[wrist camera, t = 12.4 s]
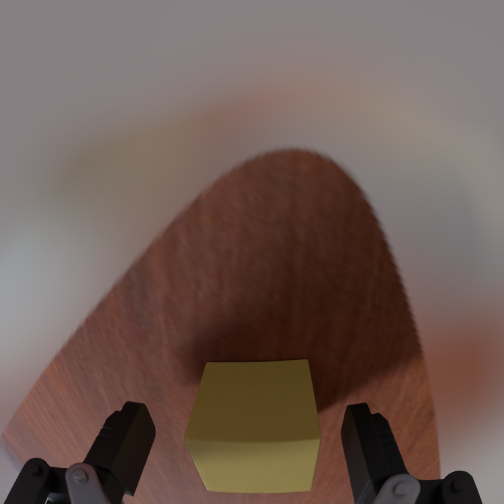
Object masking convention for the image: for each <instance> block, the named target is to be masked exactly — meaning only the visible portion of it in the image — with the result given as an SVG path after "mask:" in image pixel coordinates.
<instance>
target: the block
mask: <svg viewBox="0 0 504 504" xmlns="http://www.w3.org/2000/svg"><path fill="white" fill-rule="evenodd" d="M184 440H185V443H186V445H187V447H188V450H189V452H190V454H191V456H192V459H193V461H194V463H195V465H196V467H197V469H198V471H199V474H200V476H201V478H202V480H203V482H204V484H205V486H206V488H207V490H208V491H218V492H235V493H283V492H299V491H310V490H311V489H312V484H313V479H314V475H315V470H316V465H317V460H318V454H319V449H320V443H321V433H320V427H319V420H318V414H317V408H316V402H315V397H314V391H313V385H312V379H311V374H310V368H309V363H308V360H307V359H302V360H287V361H267V362H207V363H206V365H205V369H204V372H203V375H202V379H201V382H200V385H199V389H198V392H197V396H196V399H195V402H194V406H193V409H192V413H191V416H190V419H189V423H188V426H187V430H186V433H185V437H184Z"/></svg>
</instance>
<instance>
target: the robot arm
mask: <svg viewBox="0 0 504 504" xmlns="http://www.w3.org/2000/svg"><path fill="white" fill-rule="evenodd" d="M155 434H156V430H155V425H154V423H153V421H152V418H151V416H150V414H149V411H148V409H147V407H146V405H145V404H143V403H137V402H131V401H127V402H126V403H125V404H124V406H123V408H122V410H121V411H115V412H114V413H113V414H111V415H110V416H109V417H108V418H107V420H106V421H105V423H104V425H103V428H102V429H101V430H100V432H99V435H98V436H97V438H96V439H95V441H94V443H93V445H92V447H91V449H90V450H89V452H88V454H87V456H86V458H85V460H84V461H83V462H82V463H75V464H73V465H71V466H70V467H69V468H58V467H50V466H49V465H48V464H47V463H46V461H44V460H43V459H41V458H32V459H30V460H28V461H27V462H26V463H25V465H24V467H23V468H22V470H21V472H20V474H19V476H18V478H17V479H16V481H15V483H14V485H13V487H12V489H11V491H10V493H9V494H8V496H7V498H6V500H5V502H4V504H45V502H46V500H47V498H48V501H47V503H46V504H124V502H123V500H122V498H123V496H124V494H126V495H130V496H134V493H135V491H136V488H137V485H138V482H139V480H140V477H141V474H142V471H143V469H144V466H145V463H146V461H147V458H148V455H149V453H150V450H151V447H152V445H153V442H154V439H155ZM341 440H342V445H343V449H344V454H345V458H346V463H347V468H348V472H349V477H350V482H351V487H352V492H353V497H354V502H355V504H362V503H363V504H482V501H481V498H480V495H479V493H478V490H477V487H476V485H475V482H474V480H473V477H472V476H471V475H470V474H469V473H467V472H465V471H454V472H452V473H450V474H448V475H447V476H446V477H445V478H444V479H438V480H419V479H416V478H415V477H413V476H412V475H410V474H409V473H408V471H407V470H406V467H405V465H404V462H403V459H402V456H401V454H400V451H399V449H398V446H397V443H396V441H395V438H394V436H393V433H392V430H391V428H390V425H389V423H388V421H387V420H386V419H385V418H384V417H383V416H382V415H381V414H380V413H376V414H371V412H370V409H369V407H368V405H367V403H360V404H353V405H348V406H347V407H346V411H345V416H344V420H343V424H342V428H341Z"/></svg>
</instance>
